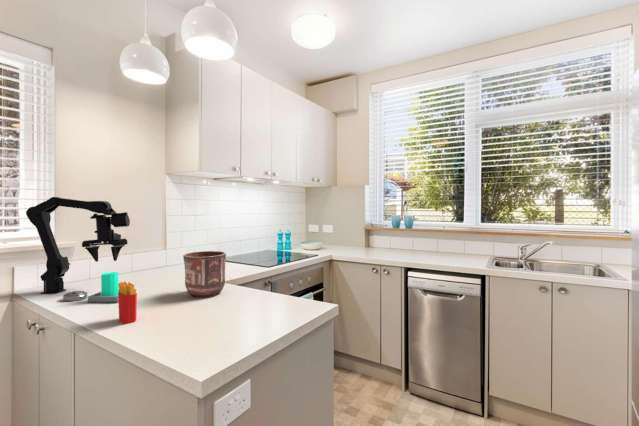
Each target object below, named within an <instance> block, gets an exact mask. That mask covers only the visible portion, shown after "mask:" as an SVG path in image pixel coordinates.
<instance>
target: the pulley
mask: <svg viewBox="0 0 639 426" xmlns="http://www.w3.org/2000/svg"><path fill="white" fill-rule="evenodd" d="M62 299H63V302H67V303H70V302H79V301H83V300H86V299H88V292H87V291H84V290H74V291H70V292H67V293H65V294H63V296H62Z"/></svg>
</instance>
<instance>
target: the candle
mask: <svg viewBox="0 0 639 426" xmlns="http://www.w3.org/2000/svg"><path fill="white" fill-rule="evenodd" d="M100 279H101V281H100V282H101V285H100V286H101V288H100V289H101V291H100V292H101V296H118V292H119V285H118V284H119V283H120V282H119V272H118V271H117V272H116V271H112V272H111V271H109V272H108V271H105V272H102V273H101V274H100Z"/></svg>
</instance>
